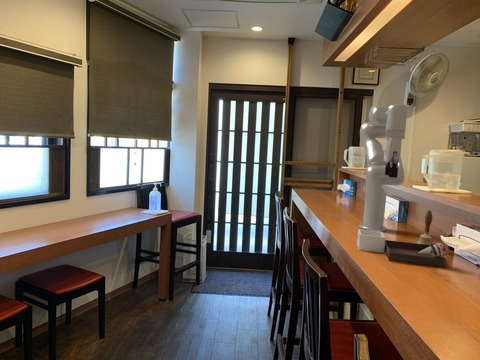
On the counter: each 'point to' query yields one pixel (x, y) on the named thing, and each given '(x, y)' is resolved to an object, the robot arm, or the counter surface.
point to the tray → (411, 254)
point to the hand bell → (426, 230)
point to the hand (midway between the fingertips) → (390, 176)
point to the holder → (371, 241)
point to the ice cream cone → (435, 250)
